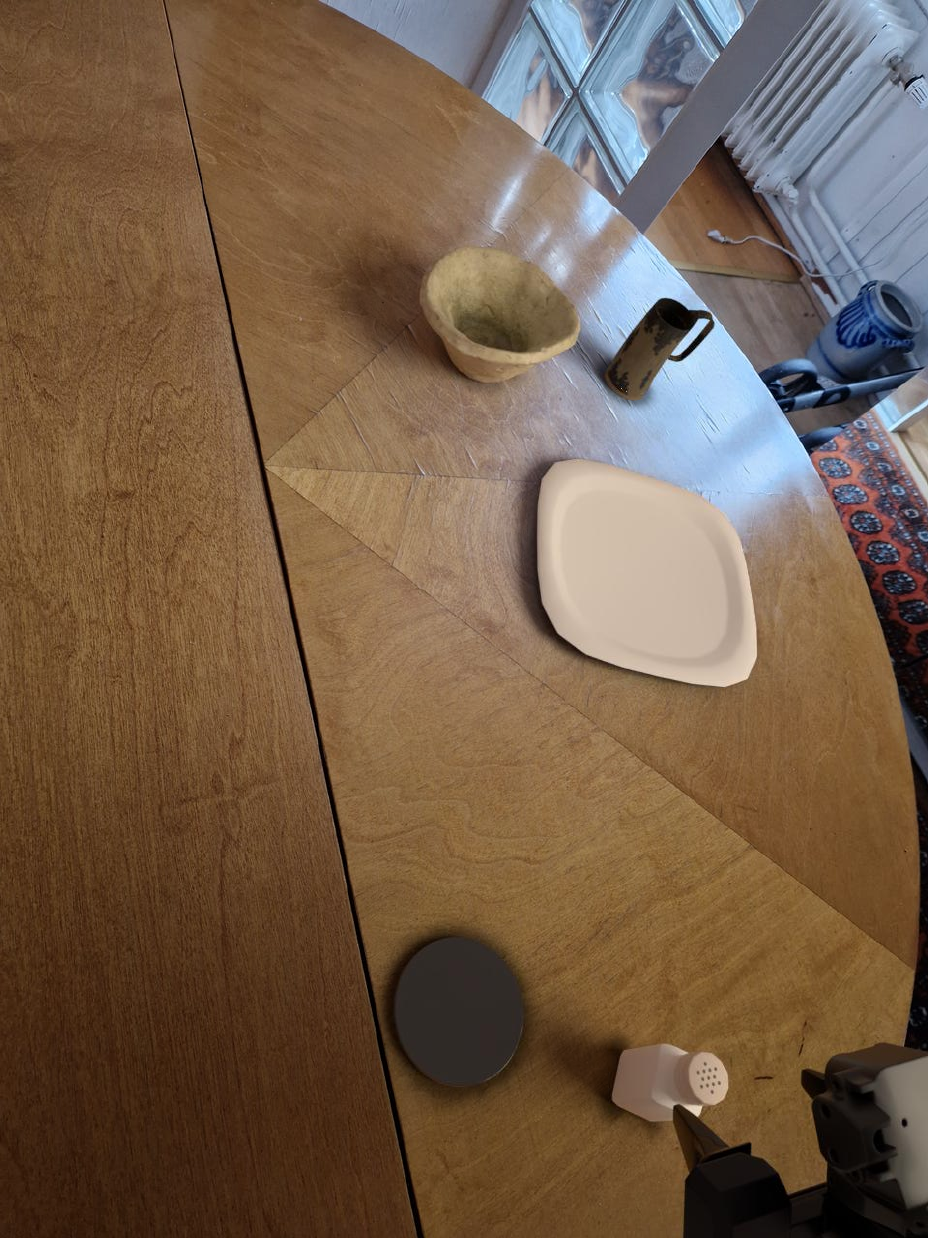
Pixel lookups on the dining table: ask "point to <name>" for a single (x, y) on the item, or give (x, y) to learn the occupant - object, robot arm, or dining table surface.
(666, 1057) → the salt shaker
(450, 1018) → the coaster
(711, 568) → the plate
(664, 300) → the mug
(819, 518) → the dining table surface
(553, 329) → the bowl
